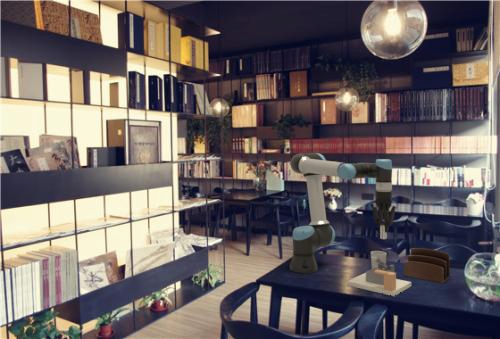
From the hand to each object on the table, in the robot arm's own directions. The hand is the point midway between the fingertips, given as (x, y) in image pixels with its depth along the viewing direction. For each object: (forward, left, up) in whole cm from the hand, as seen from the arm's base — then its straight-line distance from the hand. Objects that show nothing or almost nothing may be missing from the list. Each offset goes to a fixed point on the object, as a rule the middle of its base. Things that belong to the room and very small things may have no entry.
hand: (383, 238), depth 212 cm
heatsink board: (0, -5, -22) cm, 23 cm away
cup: (-8, +11, -23) cm, 26 cm away
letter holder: (+12, +24, -23) cm, 35 cm away
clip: (+7, -12, -20) cm, 25 cm away
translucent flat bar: (0, -4, -12) cm, 12 cm away
